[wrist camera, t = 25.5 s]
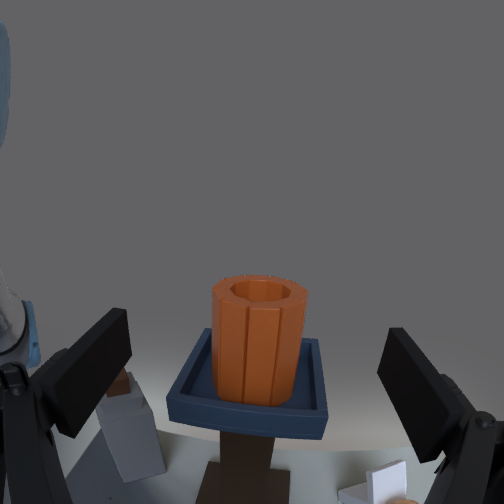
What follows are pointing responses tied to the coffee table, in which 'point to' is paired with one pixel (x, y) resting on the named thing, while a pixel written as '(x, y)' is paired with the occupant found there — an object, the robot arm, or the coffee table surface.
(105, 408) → the perfume bottle
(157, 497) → the coffee table surface
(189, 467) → the coffee table surface
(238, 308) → the sleeve
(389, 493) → the figurine
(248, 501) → the tray
